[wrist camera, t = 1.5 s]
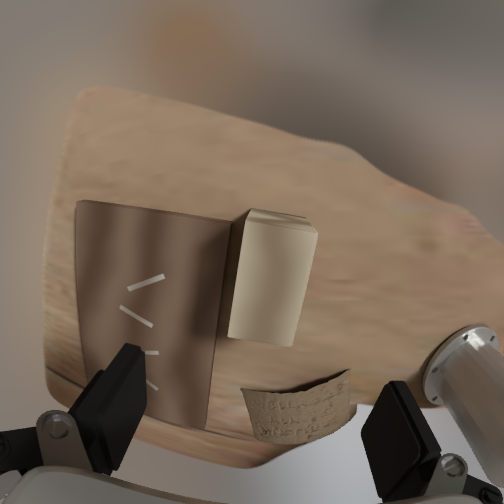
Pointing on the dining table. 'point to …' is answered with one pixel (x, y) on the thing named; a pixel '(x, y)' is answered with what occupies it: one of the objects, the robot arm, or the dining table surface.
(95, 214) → the walnut board
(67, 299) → the dining table surface
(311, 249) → the cream carton
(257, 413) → the clay tablet
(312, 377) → the dining table surface
